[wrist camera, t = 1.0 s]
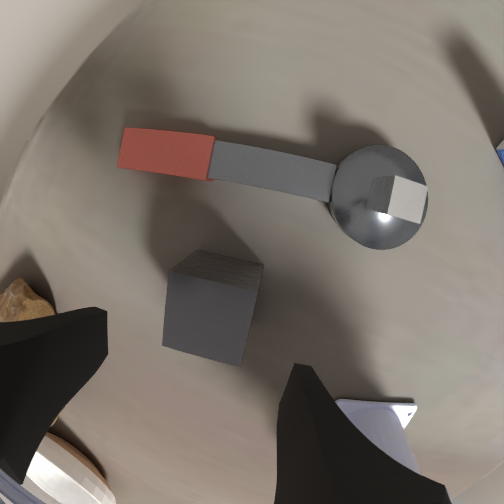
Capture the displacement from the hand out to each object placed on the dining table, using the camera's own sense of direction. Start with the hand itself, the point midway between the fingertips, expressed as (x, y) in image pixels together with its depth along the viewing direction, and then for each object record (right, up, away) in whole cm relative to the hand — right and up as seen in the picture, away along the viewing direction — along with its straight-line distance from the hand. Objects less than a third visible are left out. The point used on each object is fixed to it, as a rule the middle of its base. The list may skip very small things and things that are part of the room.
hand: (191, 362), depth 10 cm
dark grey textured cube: (0, +1, +9) cm, 9 cm away
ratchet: (+3, +9, +8) cm, 12 cm away
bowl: (-25, -27, +18) cm, 41 cm away
